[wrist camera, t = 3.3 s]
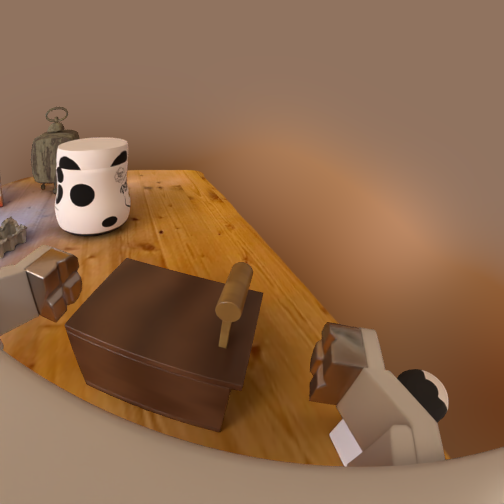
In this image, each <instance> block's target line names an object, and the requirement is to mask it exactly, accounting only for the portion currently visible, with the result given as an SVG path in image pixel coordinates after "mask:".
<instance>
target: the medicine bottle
mask: <svg viewBox="0 0 504 504" xmlns="http://www.w3.org/2000/svg"><path fill="white" fill-rule="evenodd" d="M397 379H398V380H399V381H400V382H401V384H402V385H403V386H404V387H405V388H406V389H407V390H408V391H409V392H410V393H411V394H412V396H413V397H414V398H415V399H416V400H417V401H418V402H419V403H420V404H421V405H422V407H423V408H424V409H425V410H426V411H427V412H428V413H429V414H430V415H431V417H432V418H433V419H434V420H435V421H436V422H437V423H438V422H439V421H440V420H441V419H442V418H443V417H444V416H445V414H446V412H447V409H448V395H447V391H446V389H445V387H444V386H443V384H442V383H441V382H440V381H439V380H438V379H437V378H436V377H435V376H433V375H432V374H431V373H429V372H426V371H423V370H418V369H414V370H408V371H405V372H403V373H402V374H400V375H399V376H398V378H397ZM329 436H330V438H331V440H332V442H333V444H334V446H335V448H336V450H337V452H338V454H339V456H340V459H341V461H342V463H343V465H344V467H347V464H348V463H349V462H351V461H352V460H353V459H354V458H356V457H357V456H358V455H359V454H361V453H362V450H361V448H360V447H359V445H358V443H357V442H356V440H355V438H354V436H353V435H352V433H351V431H350V430H349V428H348V426H347V424H346V423H345V421H344V419H342V420H341V421H340V422H339V423H338V425H337V426H336V427H335V428H334V429H333V430H332V431H331V432H330V434H329Z"/></svg>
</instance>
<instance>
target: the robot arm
mask: <svg viewBox="0 0 504 504" xmlns="http://www.w3.org/2000/svg"><path fill="white" fill-rule="evenodd" d="M78 268H79V263H78V258H77V257H76V256H74V255H72V254H70V253H67V252H64V251H61V250H59V249H56V248H53V247H50V246H48V245H41V246H40V247H39V248H37V249H36V250H34V251H33V252H32V253H30V254H29V255H28V256H26V257H25V258H24V259H22V260H21V261H20V262H18V263H17V264H16V265H15V266H14V265H9V266H5V267H2V268H0V336H1V335H3V334H5V333H7V332H9V331H11V330H12V329H14V328H16V327H18V326H20V325H22V324H24V323H26V322H28V321H30V320H32V319H34V318H36V317H38V316H39V315H41V316H43V317H45V318H47V319H49V320H51V321H53V322H57V321H58V320H59V319H60V318H61V316H62V315H63V314H64V313H65V312H66V311H67V305H70V304H73V303H74V302H75V301H76V300H77V299H78V298H79V295H80V293H81V290H82V281H81V277H80V275H79V274H78V272H77V270H78ZM310 372H311V374H312V375H313V378H312V380H311V382H310V395H309V401H312V402H318V403H325V404H331V405H337V406H336V407H337V409H338V411H339V413H340V414H341V416H342V418H343V419H344V421H345V423H346V424H347V426H348V428H349V430H350V431H351V433H352V435H353V436H354V438H355V440H356V442H357V443H358V445H359V447H360V448H361V450H362V453H361V454H359V455H358V456H357V457H356V458H354V459H353V460H352V461H351V462H349V463H348V464H347V467H342V466H322V465H309V464H298V463H290V462H282V461H274V460H268V459H262V458H256V457H250V456H245V455H240V454H235V453H231V452H226V451H222V450H218V449H214V448H210V447H206V446H202V445H198V444H195V443H191V442H188V441H185V440H181V439H178V438H175V437H172V436H169V435H166V434H163V433H160V432H157V431H154V430H151V429H149V428H146V427H143V426H141V425H138V424H136V423H133V422H131V421H128V420H126V419H123V418H121V417H119V416H116V415H114V414H112V413H110V412H107V411H105V410H103V409H101V408H99V407H97V406H94V405H92V404H90V403H88V402H86V401H84V400H82V399H80V398H79V397H77V396H75V395H73V394H71V393H69V392H67V391H65V390H64V389H62V388H60V387H58V386H57V385H55V384H53V383H51V382H50V381H48V380H46V379H45V378H43V377H41V376H40V375H38V374H37V373H35V372H34V371H32V370H30V369H29V368H27V367H26V366H24V365H23V364H21V363H20V362H18V361H17V360H16V359H14V358H13V357H11V356H10V355H9V354H7V353H6V352H4V351H3V343H2V341H1V339H0V504H504V447H501V448H497V449H494V450H490V451H486V452H482V453H478V454H474V455H470V456H465V457H459V458H454V459H448V460H445V456H444V451H443V446H442V442H441V437H440V432H439V428H438V424H437V422H436V421H435V420H434V419H433V418H432V417H431V415H430V414H429V413H428V412H427V411H426V410H425V409H424V408H423V407H422V405H421V404H420V403H419V402H418V401H417V400H416V399H415V398H414V397H413V396H412V394H411V393H410V392H409V391H408V390H407V389H406V388H405V387H404V386H403V385H402V384H401V382H400V381H399V380H398V379H397V378H396V377H395V376H394V375H393V374H392V373H391V372H390V371H387V370H385V366H384V362H383V357H382V353H381V349H380V345H379V341H378V337H377V333H376V331H375V330H372V329H365V328H357V327H351V326H346V325H341V324H335V323H330V322H327V323H326V324H325V325H324V328H323V330H322V339H321V340H320V341H318V342H317V343H316V345H315V347H314V350H313V353H312V357H311V362H310Z"/></svg>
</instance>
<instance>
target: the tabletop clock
mask: <svg viewBox="0 0 504 504" xmlns="http://www.w3.org/2000/svg"><path fill="white" fill-rule="evenodd" d="M56 109H62V110H64V111H66V116H65V117H64V118H62V119H58V117H55V120H52V119H49V118H47V115H48V113H49V112H50V111H52V110H56ZM67 116H68V111H67V110H66V109H65V108H63V107H55V108H52V109H50V110H49V111H48V112H47V113H46V119H47V120H48V121H51V122H55V123H53V124H51V125H50V127H49V128H48V131H49V132H46V133H44V134H42V135H40V136H39V137H37V138H35V139H34V141H33V145H32V153H31V164H32V172H33V176H34V179H35V181H36V182H38V183H43V184H42V185H41V189H42V190H43V189H45V183H54V187H55V189H54V190H53V193H54V194H57V188H56V185H57V174H56V166H57V163H56V158H57V149H58V146H59V145H60V144H62V143H65V142H68V141H73V140H78V139H79V135H78V132H76V131H74V130H64V126H63V124H62V123H58V122H59V121H62V120H64V119H65V118H66V117H67Z"/></svg>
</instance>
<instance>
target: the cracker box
mask: <svg viewBox="0 0 504 504" xmlns="http://www.w3.org/2000/svg"><path fill="white" fill-rule="evenodd" d="M2 206H3V195H2V187H1V178H0V207H2Z"/></svg>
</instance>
